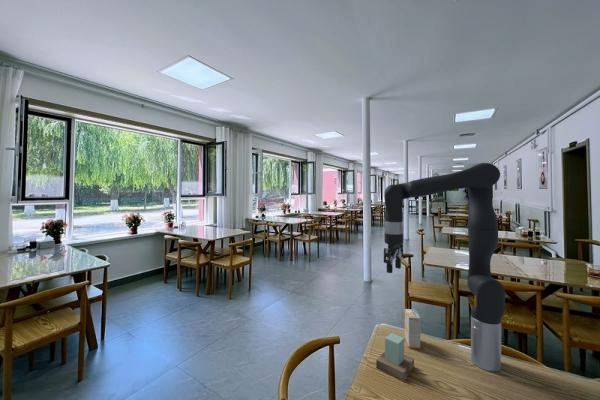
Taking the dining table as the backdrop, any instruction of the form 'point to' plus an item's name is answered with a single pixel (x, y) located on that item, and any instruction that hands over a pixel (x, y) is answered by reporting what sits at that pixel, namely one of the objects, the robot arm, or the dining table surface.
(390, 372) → the walnut plinth
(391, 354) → the sage block
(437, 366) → the dining table surface
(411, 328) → the supplement box
